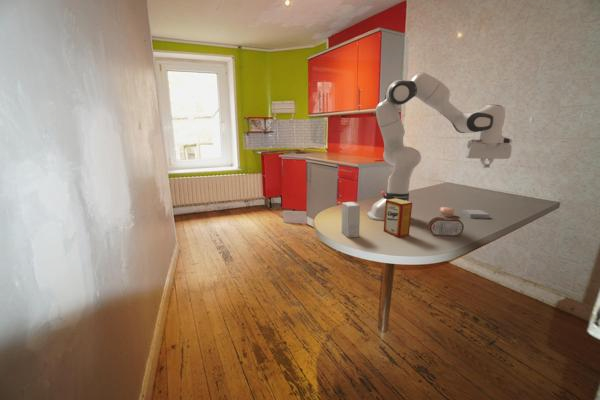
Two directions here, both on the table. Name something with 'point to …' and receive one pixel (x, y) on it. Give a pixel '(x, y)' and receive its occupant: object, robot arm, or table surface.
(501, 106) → the robot arm
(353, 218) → the skincare box
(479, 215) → the tile
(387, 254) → the table surface
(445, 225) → the tin
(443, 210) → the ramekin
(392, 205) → the baking soda box
